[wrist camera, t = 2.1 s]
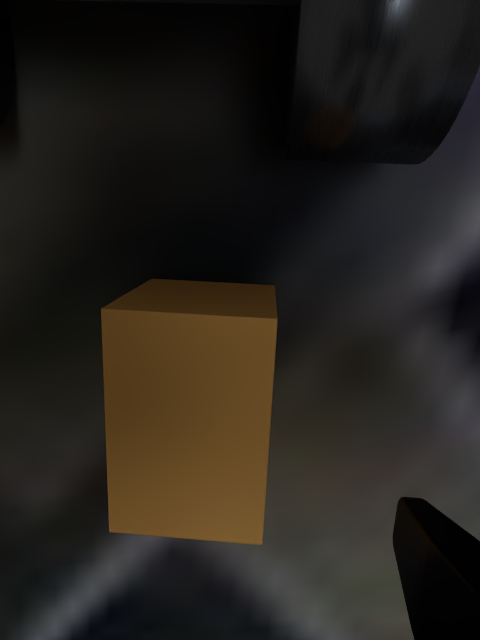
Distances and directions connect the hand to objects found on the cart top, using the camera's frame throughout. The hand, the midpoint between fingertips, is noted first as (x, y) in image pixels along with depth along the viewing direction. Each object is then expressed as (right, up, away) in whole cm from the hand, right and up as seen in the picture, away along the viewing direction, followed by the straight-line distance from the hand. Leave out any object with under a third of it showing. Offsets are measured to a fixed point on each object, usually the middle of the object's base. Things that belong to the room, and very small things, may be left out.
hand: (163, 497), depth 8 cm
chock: (0, +2, +6) cm, 7 cm away
